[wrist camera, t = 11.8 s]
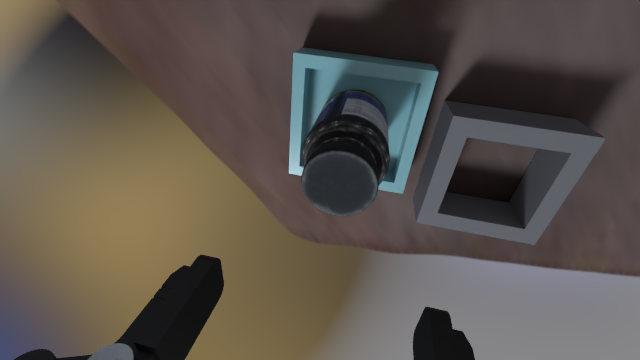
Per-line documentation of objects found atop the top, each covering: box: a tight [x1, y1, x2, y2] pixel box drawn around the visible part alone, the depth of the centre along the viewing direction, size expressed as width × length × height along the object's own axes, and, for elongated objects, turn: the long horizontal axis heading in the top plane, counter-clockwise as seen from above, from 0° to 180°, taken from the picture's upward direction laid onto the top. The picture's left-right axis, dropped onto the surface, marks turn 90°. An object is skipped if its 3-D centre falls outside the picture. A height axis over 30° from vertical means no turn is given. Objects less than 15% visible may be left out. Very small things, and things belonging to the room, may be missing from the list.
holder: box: [413, 100, 606, 245], centre depth 26 cm, size 10×10×4 cm
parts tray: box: [289, 47, 439, 194], centre depth 26 cm, size 11×11×3 cm
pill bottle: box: [301, 89, 390, 216], centre depth 22 cm, size 6×6×11 cm
